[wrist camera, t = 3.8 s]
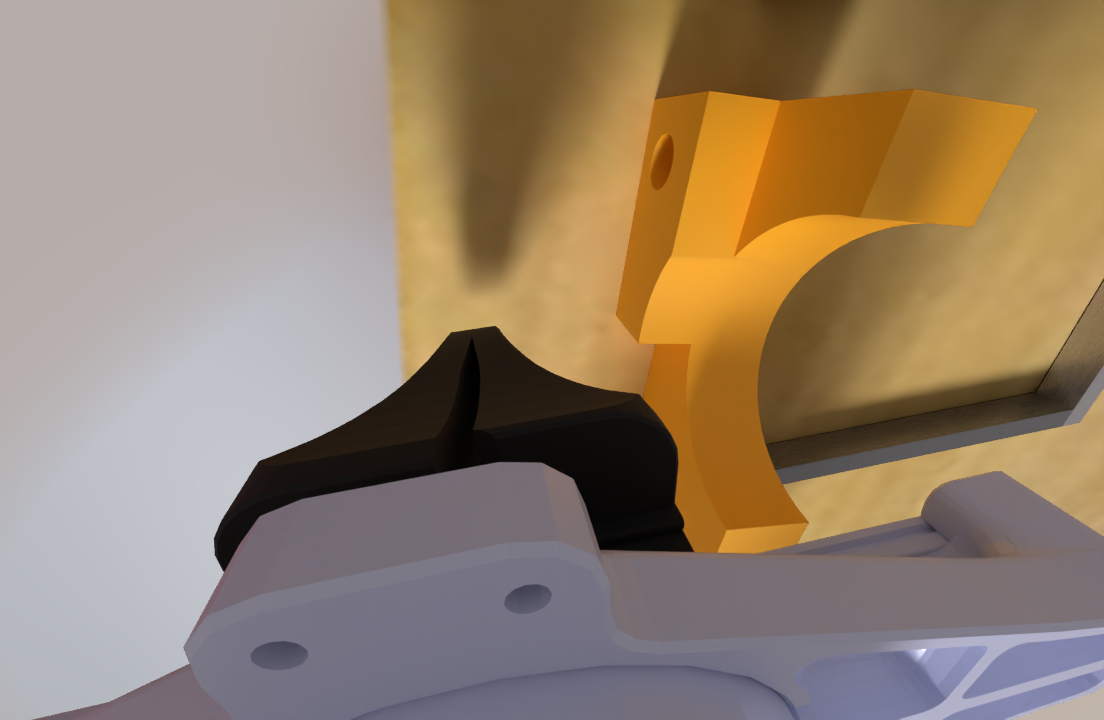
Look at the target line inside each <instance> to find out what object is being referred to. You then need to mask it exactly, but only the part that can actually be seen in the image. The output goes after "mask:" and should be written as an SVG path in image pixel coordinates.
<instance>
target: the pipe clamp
mask: <svg viewBox="0 0 1104 720" xmlns="http://www.w3.org/2000/svg"><path fill="white" fill-rule="evenodd" d="M1037 110H1038V109H1036V108H1030V107H1024V106H1017V105H1011V104H1005V103H999V102H992V101H986V100H980V99H973V98H967V97H961V96H955V95H948V94H942V93H936V92H929V91H923V90H917V89H910V90H899V91H887V92H876V93H865V94H853V95H842V96H831V97H819V98H808V99H797V100H785V101H778V100H771V99H763V98H756V97H749V96H742V95H735V94H728V93H721V92H714V91H706V92H699V93H693V94H686V95H680V96H674V97H667V98H661V99H655V100H654V106H653V111H652V117H651V123H650V128H649V134H648V139H647V145H646V150H645V156H644V162H643V167H642V173H641V178H640V184H639V189H638V195H637V201H636V206H635V212H634V217H633V223H632V228H631V234H630V240H629V245H628V251H627V256H626V262H625V267H624V273H623V279H622V284H621V290H620V295H619V301H618V307H617V312H616V316H617V317H618V318H619V320H620V321H621V322H622V324H623V325H624V326H625V327H626V329H627V330H628V331H629V332H630V334H631V335H632V336H633V337H634V339H635V340H636V341H637V342H638V344H656V345H655V349H654V353H653V357H652V362H651V366H650V370H649V374H648V379H647V383H646V387H645V391H644V396H643V400H644V401H645V402H646V403H647V404H648V405H649V406H650V407H651V408H652V409H653V410H654V412H655V413H656V414H657V415H658V417H659V418H660V419H661V420H662V422H663V423H664V425H665V426H666V428H667V429H668V431H669V432H670V434H671V435H672V437H673V440H674V442H675V444H676V446H677V448H678V461H679V465H678V475H677V486H676V497H675V504H676V506H677V508H678V509H679V511H680V513H681V515H682V517H683V519H684V523H685V524H684V529H683V531H684V533H685V535H686V537H687V538H688V540H689V542H690V544H691V546H692V548H693V550H694V552H713V553H761V552H766V551H770V550H774V549H779V548H783V547H788V546H792V545H796V544H797V543H798V541H799V540H800V538H801V536H802V534H803V532H804V531H805V529H806V527H807V525H808V523H809V522H808V521H807V520H806V518H805V517H804V516H803V515H802V513H801V512H800V511H799V510H798V508H797V507H796V505H795V504H794V502H793V501H792V500H791V498H790V497H789V495H788V493H787V492H786V490H785V488H784V486H783V485H782V483H781V481H780V479H779V477H778V475H777V473H776V471H775V469H774V466H773V464H772V461H771V459H770V456H769V453H768V450H767V447H766V444H765V440H764V437H763V433H762V428H761V423H760V417H759V408H758V374H759V365H760V360H761V354H762V350H763V346H764V343H765V339H766V336H767V333H768V331H769V328H770V325H771V323H772V321H773V319H774V317H775V315H776V313H777V311H778V309H779V307H780V306H781V304H782V302H783V301H784V299H785V298H786V296H787V295H788V293H789V292H790V290H791V289H792V288H793V287H794V286H795V284H796V283H797V282H798V281H799V280H800V278H801V277H802V276H803V275H804V274H805V273H806V272H807V271H808V270H809V269H810V268H812V267H813V266H814V265H815V264H816V263H818V262H819V261H820V260H821V259H822V258H824V257H825V256H827V255H828V254H830V253H831V252H833V251H834V250H836V249H837V248H839V247H841V246H843V245H845V244H847V243H848V242H850V241H852V240H855V239H857V238H860V237H862V236H864V235H867V234H870V233H873V232H876V231H880V230H883V229H886V228H891V227H897V226H902V225H909V224H921V223H931V224H943V225H956V226H968V227H973V225H974V224H975V222H976V220H977V218H978V216H979V214H980V213H981V211H982V209H983V207H984V205H985V204H986V202H987V200H988V198H989V196H990V195H991V193H992V191H993V189H994V187H995V186H996V184H997V182H998V180H999V178H1000V177H1001V175H1002V173H1003V171H1004V169H1005V168H1006V166H1007V164H1008V162H1009V160H1010V158H1011V157H1012V155H1013V153H1014V151H1015V149H1016V148H1017V146H1018V144H1019V142H1020V140H1021V139H1022V137H1023V135H1024V133H1025V131H1026V130H1027V128H1028V126H1029V124H1030V122H1031V121H1032V119H1033V117H1034V115H1035V113H1036V111H1037Z"/></svg>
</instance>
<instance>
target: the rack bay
mask: <svg viewBox="0 0 1104 720" xmlns="http://www.w3.org/2000/svg"><path fill="white" fill-rule="evenodd" d="M1103 389H1104V281H1103V283H1102V285H1101V286H1100V288H1099V290H1098V291H1097V293H1096V295H1095V296H1094V298H1093V299H1092V301H1091V303H1090V304H1089V306H1088V308H1087V309H1086V311H1085V313H1084V314H1083V316H1082V318H1081V319H1080V321H1079V323H1078V324H1077V326H1076V327H1075V329H1074V331H1073V332H1072V334H1071V336H1070V337H1069V339H1068V341H1067V342H1066V344H1065V346H1064V347H1063V349H1062V351H1061V352H1060V354H1059V355H1058V357H1057V359H1056V360H1055V362H1054V364H1053V365H1052V367H1051V369H1050V370H1049V372H1048V374H1047V375H1046V377H1045V379H1044V380H1043V382H1042V383H1041V385H1040V387H1039V388H1038V390H1037V392H1035V393H1029V394H1024V395H1019V396H1014V397H1009V398H1004V399H999V400H993V401H988V402H983V403H978V404H973V405H968V406H963V407H958V408H952V409H947V410H942V411H937V412H932V413H927V414H922V415H917V416H911V417H906V418H901V419H896V420H891V421H886V422H881V423H876V424H870V425H865V426H860V427H855V428H850V429H845V430H840V431H834V432H829V433H824V434H819V435H814V436H809V437H804V438H799V439H793V440H788V441H783V442H778V443H773V444H768V445H766V447H767V450H768V453H769V456H770V459H771V461H772V464H773V466H774V469H775V471H776V473H777V475H778V477H779V479H780V481H781V483H782V484H787V483H792V482H797V481H801V480H806V479H811V478H816V477H821V476H825V475H830V474H835V473H840V472H845V471H849V470H854V469H859V468H864V467H869V466H873V465H878V464H883V463H888V462H893V461H898V460H902V459H907V458H912V457H917V456H922V455H926V454H931V453H936V452H941V451H946V450H950V449H955V448H960V447H965V446H970V445H974V444H979V443H984V442H989V441H994V440H998V439H1003V438H1008V437H1013V436H1018V435H1023V434H1027V433H1032V432H1037V431H1042V430H1047V429H1051V428H1056V427H1061V426H1066V425H1071V424H1075V423H1080V421H1081V420H1082V419H1083V417H1084V416H1085V414H1086V413H1087V411H1088V410H1089V409H1090V407H1091V406H1092V404H1093V403H1094V401H1095V400H1096V399H1097V397H1098V396H1099V394H1100V393H1101V392H1102V390H1103Z"/></svg>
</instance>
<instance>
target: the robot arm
mask: <svg viewBox="0 0 1104 720" xmlns="http://www.w3.org/2000/svg"><path fill="white" fill-rule="evenodd" d="M678 465H679V461H678V448H677V446H676V444H675V442H674V440H673V437H672V435H671V434H670V432H669V431H668V429H667V428H666V426H665V425H664V423H663V422H662V420H661V419H660V418H659V417H658V415H657V414H656V413H655V412H654V410H653V409H652V408H651V407H650V406H649V405H648V404H647V403H646V402H645V401H644V400H643V398H642V397H641V396H640V395H639V394H634V393H626V392H618V391H610V390H604V389H599V388H595V387H591V386H587V385H583V384H580V383H576V382H573V381H571V380H568V379H565V378H563V377H560V376H558V375H556V374H553V373H551V372H549V371H548V370H546V369H544V368H542V367H540V366H538V365H537V364H535V363H534V362H532V361H531V360H530V359H528V358H527V357H526V356H524V355H523V354H522V353H521V352H520V351H519V350H518V349H516V348H515V347H514V346H513V345H512V344H511V343H510V342H509V341H508V340H507V339H506V337H505V336H504V335H503V334H502V332H501V331H500V329H499V328H497V327H496V326H491V327H485V328H478V329H471V330H465V331H458V332H451V333H450V334H449V336H448V337H447V338H446V339H445V341H444V342H443V343H442V344H441V346H440V347H439V348H438V349H437V350H436V352H435V353H434V354H433V355H432V356H431V357H430V359H429V360H428V361H427V362H426V363H425V364H424V365H423V366H422V367H421V368H420V369H419V370H418V371H417V372H416V373H415V374H414V375H413V376H412V377H411V378H410V379H409V380H408V381H407V382H406V383H404V384H403V385H402V386H401V387H400V388H398V389H397V390H396V391H395V392H393V393H392V394H391V395H389V396H388V397H387V398H386V399H384V400H383V401H382V402H380V403H378V404H377V405H375V406H373V407H372V408H370V409H369V410H367V411H366V412H364V413H363V414H361V415H359V416H358V417H356V418H354V419H353V420H351V421H349V422H347V423H345V424H344V425H342V426H340V427H338V428H336V429H334V430H332V431H330V432H328V433H326V434H324V435H322V436H320V437H318V438H315V439H313V440H311V441H308V442H306V443H304V444H301V445H299V446H297V447H294V448H292V449H289V450H286V451H284V452H281V453H279V454H276V455H274V456H272V457H269V458H267V459H263V460H261V461H259V462H258V464H257V465H256V466H255V468H254V470H253V471H252V473H251V475H250V476H249V478H248V479H247V481H246V482H245V484H244V486H243V487H242V489H241V491H240V492H239V494H238V495H237V497H236V498H235V500H234V502H233V503H232V505H231V506H230V508H229V510H228V511H227V513H226V514H225V516H224V518H223V519H222V521H221V523H220V525H219V527H218V530H217V532H216V535H215V537H214V547H215V556H216V558H217V560H218V562H219V564H220V566H221V568H222V570H223V571H224V574H223V576H222V578H221V580H220V581H219V583H218V585H217V587H216V589H215V590H214V592H213V594H212V596H211V598H210V600H209V601H208V603H207V605H206V607H205V609H204V611H203V613H202V615H201V616H200V618H199V620H198V622H197V624H196V626H195V627H194V629H193V631H192V633H191V635H190V637H189V638H188V640H187V642H186V644H185V645H184V650H185V652H186V655H187V657H188V660H189V663H190V664H188V665H186V666H184V667H182V668H180V669H178V670H175V671H173V672H171V673H169V674H167V675H165V676H163V677H161V678H159V679H156V680H154V681H152V682H150V683H148V684H146V685H144V686H142V687H140V688H138V689H135V690H133V691H131V692H129V693H127V694H125V695H123V696H121V697H119V698H117V699H114V700H113V701H110V702H107V703H103V704H99V705H94V706H90V707H86V708H81V709H77V710H73V711H68V712H64V713H60V714H55V715H51V716H47V717H43V718H38V719H33V720H1013V719H1015V718H1018V717H1021V716H1024V715H1027V714H1030V713H1032V712H1035V711H1038V710H1041V709H1044V708H1047V707H1050V706H1053V705H1056V704H1059V703H1063V702H1065V701H1069V700H1072V699H1075V698H1078V697H1081V696H1084V695H1088V694H1091V693H1094V692H1096V691H1097V690H1099V689H1100V688H1101V687H1103V686H1104V537H1103V536H1102V535H1100V534H1099V533H1097V532H1096V531H1094V530H1092V529H1091V528H1089V527H1088V526H1086V525H1085V524H1083V523H1082V522H1080V521H1078V520H1077V519H1075V518H1074V517H1072V516H1071V515H1069V514H1067V513H1066V512H1064V511H1063V510H1061V509H1060V508H1058V507H1057V506H1055V505H1053V504H1052V503H1050V502H1049V501H1047V500H1046V499H1044V498H1042V497H1041V496H1039V495H1038V494H1036V493H1035V492H1033V491H1032V490H1030V489H1028V488H1027V487H1025V486H1024V485H1022V484H1021V483H1019V482H1017V481H1016V480H1014V479H1013V478H1011V477H1010V476H1008V475H1007V474H1005V473H1003V472H1002V471H993V472H989V473H984V474H980V475H975V476H971V477H966V478H962V479H957V480H953V481H949V482H946V483H944V484H941V485H940V486H938V487H937V488H936V489H934V490H933V491H932V492H931V493H930V495H929V496H928V497H927V499H926V501H925V503H924V505H923V508H922V511H921V516H918V517H914V518H910V519H905V520H901V521H897V522H892V523H888V524H883V525H879V526H875V527H870V528H866V529H862V530H857V531H853V532H849V533H844V534H840V535H835V536H831V537H827V538H822V539H818V540H814V541H809V542H805V543H801V544H796V545H792V546H788V547H783V548H779V549H774V550H770V551H766V552H761V553H713V552H694V550H693V548H692V546H691V544H690V543H689V541H688V539H687V537H686V535H685V533H684V531H683V530H682V529H684V524H685V523H684V519H683V517H682V515H681V513H680V511H679V509H678V508H677V506H676V504H675V497H676V486H677V475H678Z"/></svg>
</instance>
